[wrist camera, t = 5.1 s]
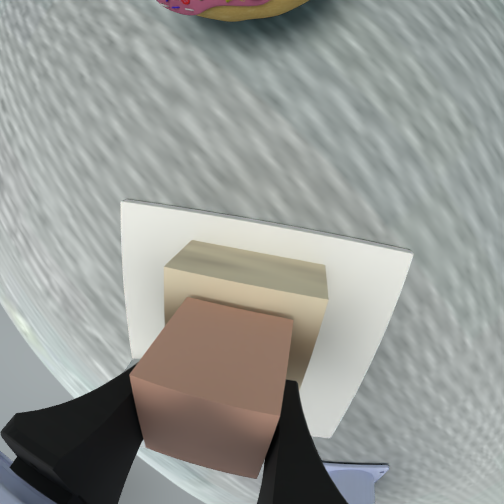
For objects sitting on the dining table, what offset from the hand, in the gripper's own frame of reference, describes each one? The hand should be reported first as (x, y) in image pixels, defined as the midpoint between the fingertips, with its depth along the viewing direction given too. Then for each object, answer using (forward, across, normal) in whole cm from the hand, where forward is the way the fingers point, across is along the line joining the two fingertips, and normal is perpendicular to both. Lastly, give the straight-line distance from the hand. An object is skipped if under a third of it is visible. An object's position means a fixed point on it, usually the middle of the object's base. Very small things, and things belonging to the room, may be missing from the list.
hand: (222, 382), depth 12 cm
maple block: (+6, 0, 0) cm, 6 cm away
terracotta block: (+2, 0, 0) cm, 2 cm away
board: (+6, 0, +3) cm, 7 cm away
